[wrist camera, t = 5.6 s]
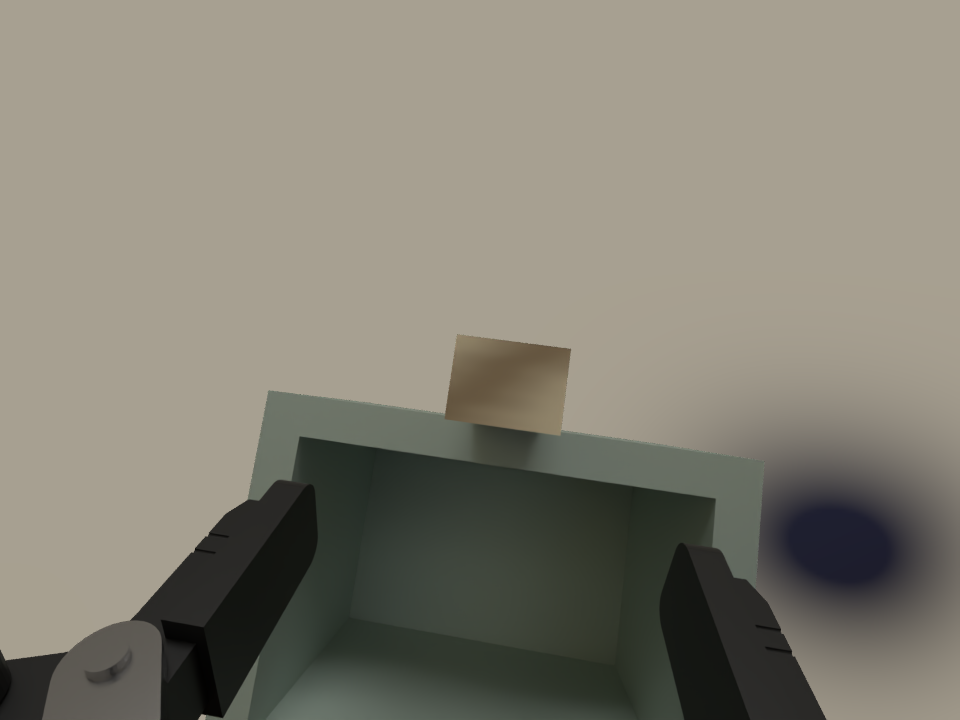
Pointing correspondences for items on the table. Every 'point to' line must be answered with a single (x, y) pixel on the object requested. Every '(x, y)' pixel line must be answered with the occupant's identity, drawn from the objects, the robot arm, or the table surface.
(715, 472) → the tall sage green box
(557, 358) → the slat
